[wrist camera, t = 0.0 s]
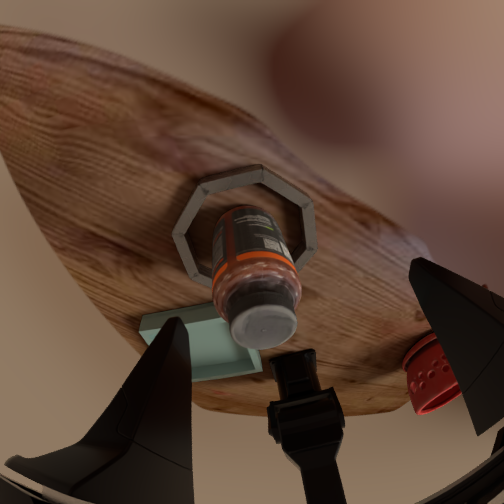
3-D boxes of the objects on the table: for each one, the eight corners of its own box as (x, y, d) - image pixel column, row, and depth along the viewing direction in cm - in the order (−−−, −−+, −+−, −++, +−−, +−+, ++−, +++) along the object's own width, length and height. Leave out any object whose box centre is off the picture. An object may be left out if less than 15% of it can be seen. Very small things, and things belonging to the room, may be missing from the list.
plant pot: (424, 322, 37) (457, 379, 27) (460, 324, 40) (489, 369, 30) (381, 370, 43) (403, 423, 33) (421, 366, 47) (443, 409, 37)
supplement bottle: (219, 264, 26) (221, 364, 17) (207, 208, 23) (199, 301, 14) (280, 255, 26) (310, 351, 17) (276, 198, 23) (315, 283, 14)
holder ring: (315, 269, 28) (319, 278, 27) (202, 295, 28) (202, 305, 27) (302, 155, 21) (307, 160, 20) (160, 189, 22) (156, 196, 20)
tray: (260, 356, 35) (262, 371, 33) (180, 368, 36) (179, 383, 33) (240, 296, 29) (242, 313, 27) (142, 315, 29) (138, 331, 27)
